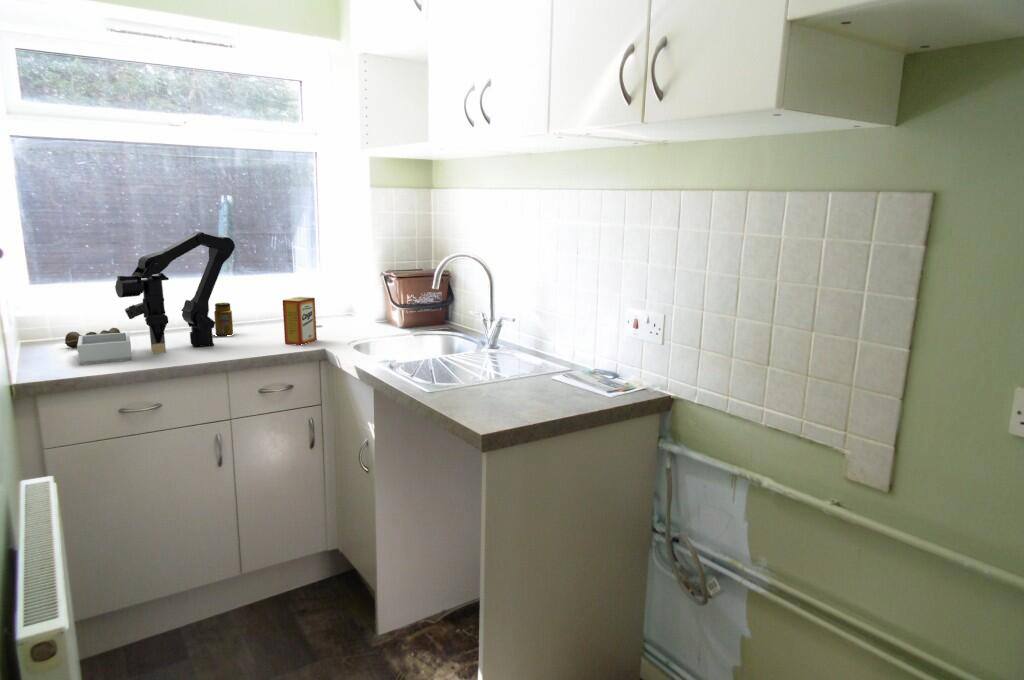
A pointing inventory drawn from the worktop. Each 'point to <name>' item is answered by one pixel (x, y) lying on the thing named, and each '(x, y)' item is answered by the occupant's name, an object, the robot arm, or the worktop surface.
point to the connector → (157, 346)
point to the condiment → (223, 319)
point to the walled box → (104, 348)
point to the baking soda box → (299, 320)
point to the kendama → (73, 337)
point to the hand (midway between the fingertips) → (157, 341)
